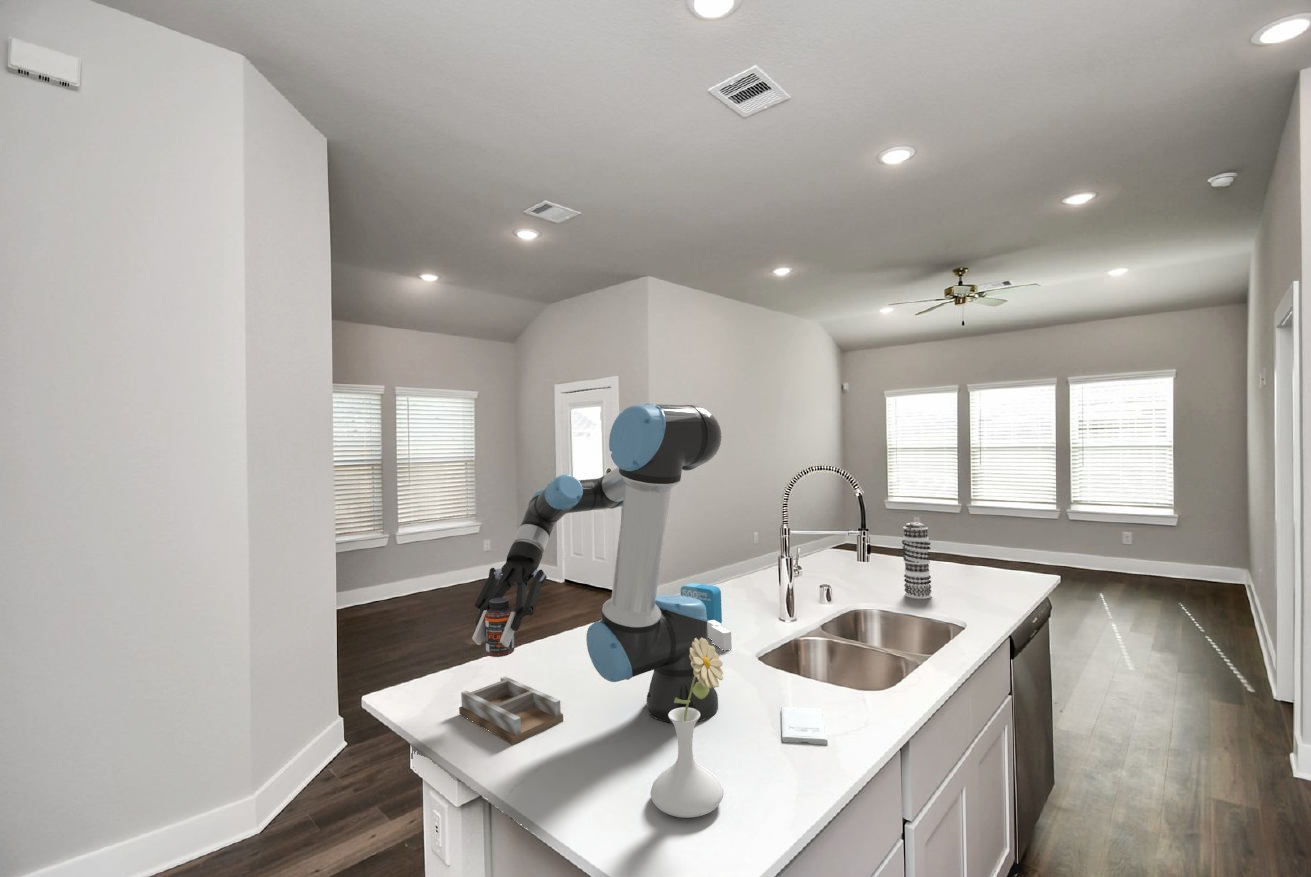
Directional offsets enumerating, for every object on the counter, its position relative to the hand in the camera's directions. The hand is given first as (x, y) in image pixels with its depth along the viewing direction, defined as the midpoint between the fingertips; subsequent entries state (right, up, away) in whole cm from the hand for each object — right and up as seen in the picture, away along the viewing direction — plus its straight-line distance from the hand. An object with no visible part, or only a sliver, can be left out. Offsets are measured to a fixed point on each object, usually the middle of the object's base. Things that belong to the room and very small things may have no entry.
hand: (490, 642), depth 122 cm
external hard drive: (+63, -15, -7) cm, 65 cm away
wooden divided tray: (+4, -16, +1) cm, 17 cm away
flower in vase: (+40, -15, -29) cm, 52 cm away
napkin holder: (+52, -15, +42) cm, 69 cm away
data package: (+48, -15, +58) cm, 77 cm away
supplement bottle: (+1, -4, +4) cm, 5 cm away
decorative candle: (+125, -12, +83) cm, 150 cm away
